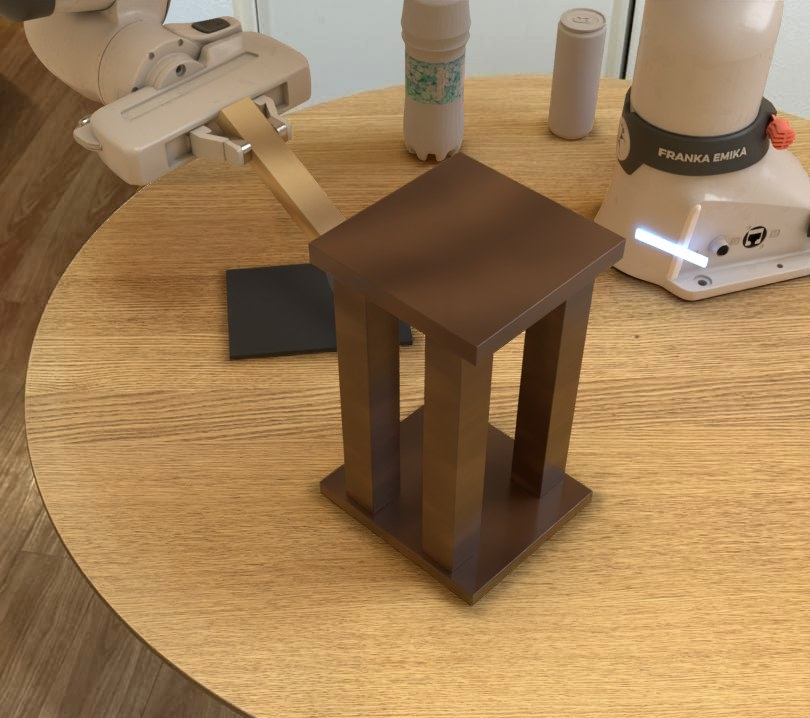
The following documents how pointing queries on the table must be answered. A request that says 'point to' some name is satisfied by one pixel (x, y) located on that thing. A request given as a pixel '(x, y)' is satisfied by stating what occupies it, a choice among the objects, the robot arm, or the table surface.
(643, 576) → the table surface
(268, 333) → the mat
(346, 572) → the table surface
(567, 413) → the stand
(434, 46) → the bottle
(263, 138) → the tan long bar
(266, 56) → the robot arm
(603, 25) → the beverage can
